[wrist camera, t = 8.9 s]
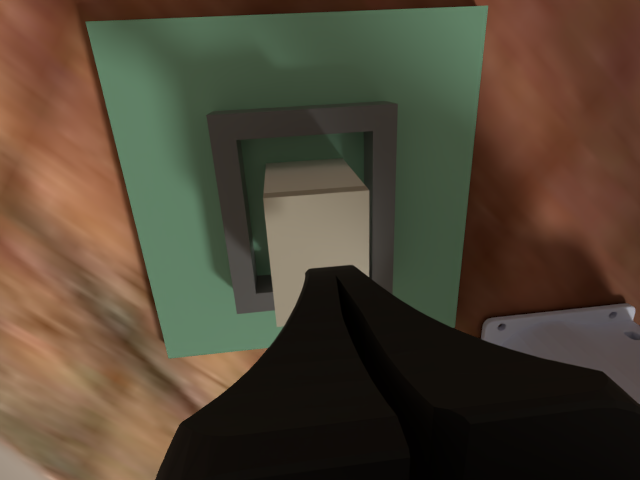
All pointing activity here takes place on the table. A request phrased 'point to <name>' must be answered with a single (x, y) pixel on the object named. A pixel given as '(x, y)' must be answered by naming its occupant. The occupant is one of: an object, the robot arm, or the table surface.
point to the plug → (312, 224)
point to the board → (290, 150)
